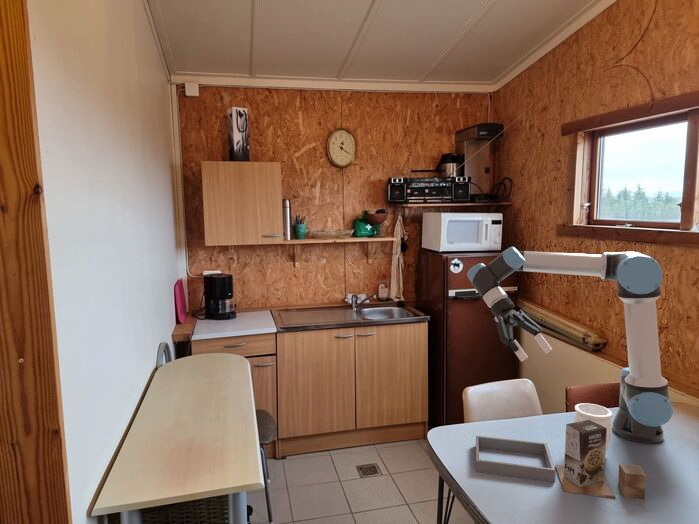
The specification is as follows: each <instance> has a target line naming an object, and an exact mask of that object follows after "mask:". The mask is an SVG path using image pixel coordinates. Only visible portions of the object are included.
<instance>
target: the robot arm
mask: <svg viewBox="0 0 699 524" xmlns="http://www.w3.org/2000/svg"><path fill="white" fill-rule="evenodd" d="M514 272H531V273H547V274H561V275H573V276H574V275H576V276H587V277H588V276H589V277H599V278H600V279H601V280H603V281H605V280H607V281H613V282H615V283H616V291H617V298H618V299H620V300H621V301H622V302H623V312H624V323H625V334H626V346H627V347H626V348H627V358H628V367H623V368H622V369H621V371H620V375H619V377H620V381H619V382H620V384H619V386H620V387H619V403H618V410H617V412H616V414H615V416H614V419H613V420H612V424H611V425H612V432H614V433H615V434H616V435H617V436H620V437H622V438H624V439H626V440H629V441H632V442H636V443H641V444H658V443H661V442H662V441H663V440H664V430H663V427H662V426H663V425H666V424H667V423H668V422H670V420H671V419H672V418H673V415H674V405H673V403H672V402H671V400H670V394H669V382H668V380H667V379H666V378H665V377H664V376H662V366H661V354H660V352H661V351H660V342H659V341H660V340H659V328H658V315H657V313H658V312H657V300H659V299H660V297H662V291H661V288H662V287H661V284H662V281H663V276H664V275H663V270H662V267H661V265H660V263H659V262H658V260H656V259H655V258H653V257H652V256H650V255H648V254H644V253H642V252H639V251H620V252H619V251H617V252H613V251H612V252H608V251H606V252H605V251H604V252H603V253H601V254H591V253H589V254H587V253H569V252H552V251H551V252H549V251H547V252H546V251H529V250H523V251H522V250H518V249H517V248H516V247H515V246H509V247H508V248H507V249H504V251H502V252H501V253H500V254H498V256H496V257H495V258H494V259H493V260H491V261H490V262H489V263H487V264H486V265H485V264H484V263H483V262H482V263H481V262H480V263H477V264H475V265H473V266H472V267H471V268H470V269H469V270H468V271H467V278H468V279H469V282H471V285H472V286H473V287H474V288H475V290H476V291H477V292H478V294H479V295H480V297H481V298H482V299H483V301H484V302H485V304H486V305H487V307H488V308H490V312H491V313H492V314H493V315H494V316H495V317H493V319H492V320H493V322H494V324H495V325H496V326H495V327H496V329H497V332H498V336H499V340H500V342H501V343H502V344H503V345H504V346H509V347H510V349H511V350H512V351H513V352H514V354H515V355H516V357H517V358H518V359H519V361H520V362H524V361H525V360H527V359H528V357H529V356H528V354H527V353H526V352H525V350H524V349H523V347H522V346H521V345H520V343H519V342H518V341H517V339H514V331H513V327H518V328H521V329H523V330H524V331H525V332H527V333H529V334H530V335H532V336H534V337H533V338H534V340H535V342H536V343H537V345H539V347H540V348H541V351H543V352H544V353H545V354H546V355H547V354H548V353H550V352H551V351H552V350H553V348H552V346H551V345H550V343H548V341H547V339H546V338H545V337H544V335H543V334H542V332H543V327H542V326H540V324H538V323H537V322H535V321H534V320H533V319H531V318H530V317H529V316H528V315H527V314H526V313H525V312H524V311H523V310H522V309H520V310H518V311H516V310H515V304H514V302H513V301H512V300H511V298H510V297H508V296H509V295H508V294H507V293H506V292H505V290H504V289H503V287H501V285H500V282H502V281H503V280H504V279H506V278H507V277H508V276H510V275H511V274H513V273H514Z"/></svg>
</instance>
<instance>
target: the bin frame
mask: <svg viewBox="0 0 699 524" xmlns="http://www.w3.org/2000/svg"><path fill="white" fill-rule="evenodd" d="M480 448H481V449H482V448H483V449H491V450H492V449H493V450H501V451H502V450H503V451H510V452H511V451H512V452H518V453H519V452H520V453H529V454H536V455H543V456H544V460H545V463H546V466H547V467H544V466H536V465H535V466H534V465H526V464H519V463H510V462H504V461H503V462H501V461H493V460H486V459H484V460H483V459H480ZM475 467H476V468H475V471H476V472H477V473H485V474H493V475H500V476H501V475H502V476H507V477H516V478H523V479H532V480H540V481H547V482H553V483H555V481H556V467H555V465H554V462H553V459H552V456H551V453H550V450H549V446H548V443H547V442H539V441H538V442H537V441H529V440H518V439H512V438H511V439H509V438H501V437H494V436H493V437H491V436H483V435H482V436H481V435H475Z"/></svg>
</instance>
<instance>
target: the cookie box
mask: <svg viewBox="0 0 699 524" xmlns="http://www.w3.org/2000/svg"><path fill="white" fill-rule="evenodd" d="M565 425H566V426H565V442H564V461H563V463H564V464H563V466H564V476H565V477H566V478H567V479H569V480H570V481H572V482H573V483H574V484H576V485H577V486H579V487H583V486H587V485H591V484H595V483H599V482H603V481H604V475H605V470H606V459H605V453H606V452H607V451H606V432H607V428H605V427H603V426H601V425H599V424H597V423H595V422H593V421H591V420H585V421H580V422H575V423H574V422H570V423H566V424H565ZM605 451H606V452H605Z"/></svg>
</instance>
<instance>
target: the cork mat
mask: <svg viewBox="0 0 699 524" xmlns="http://www.w3.org/2000/svg"><path fill="white" fill-rule="evenodd" d="M554 468H555V471H556V473H557V476H558V479H559V482H560V484H561V488H562V491H563V492H564V493H572V494H580V495H587V496H596V497H602V498H611V499H616V494H615V492H614V490H613V488H612V486H611V484H610V482H609V481H608V479H607V476H606V474H604V481H603V482H599V483H595V484H591V485H587V486H583V487H579V486H577V485H576V484H574V483H573V482H572V481H570V480H569V479H567V478H566V477H565V476H564V465H560V464H555V465H554Z"/></svg>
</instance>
